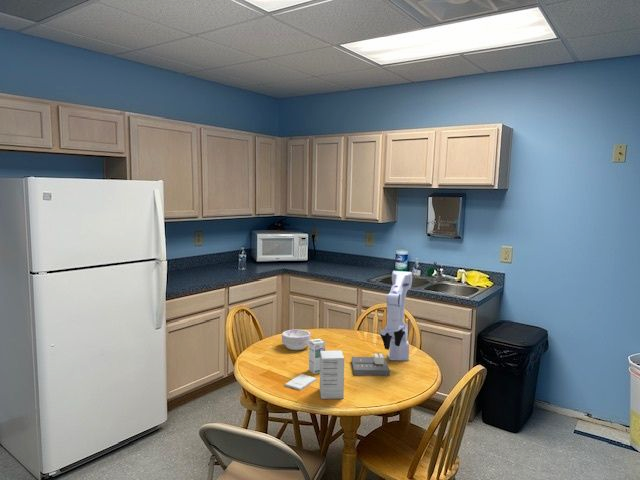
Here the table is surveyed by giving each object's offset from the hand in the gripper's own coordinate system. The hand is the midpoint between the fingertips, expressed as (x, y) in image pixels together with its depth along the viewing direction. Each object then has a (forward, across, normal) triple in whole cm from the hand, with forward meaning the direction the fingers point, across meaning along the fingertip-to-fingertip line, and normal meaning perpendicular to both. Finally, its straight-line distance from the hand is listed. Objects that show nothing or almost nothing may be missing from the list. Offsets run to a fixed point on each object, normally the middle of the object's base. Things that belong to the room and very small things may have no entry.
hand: (392, 347), depth 207 cm
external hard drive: (+12, +43, -15) cm, 47 cm away
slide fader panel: (+10, +7, -7) cm, 15 cm away
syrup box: (+11, +29, -20) cm, 37 cm away
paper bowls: (+10, +17, -51) cm, 55 cm away
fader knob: (+8, +4, -4) cm, 10 cm away
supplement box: (+11, +39, +1) cm, 41 cm away
